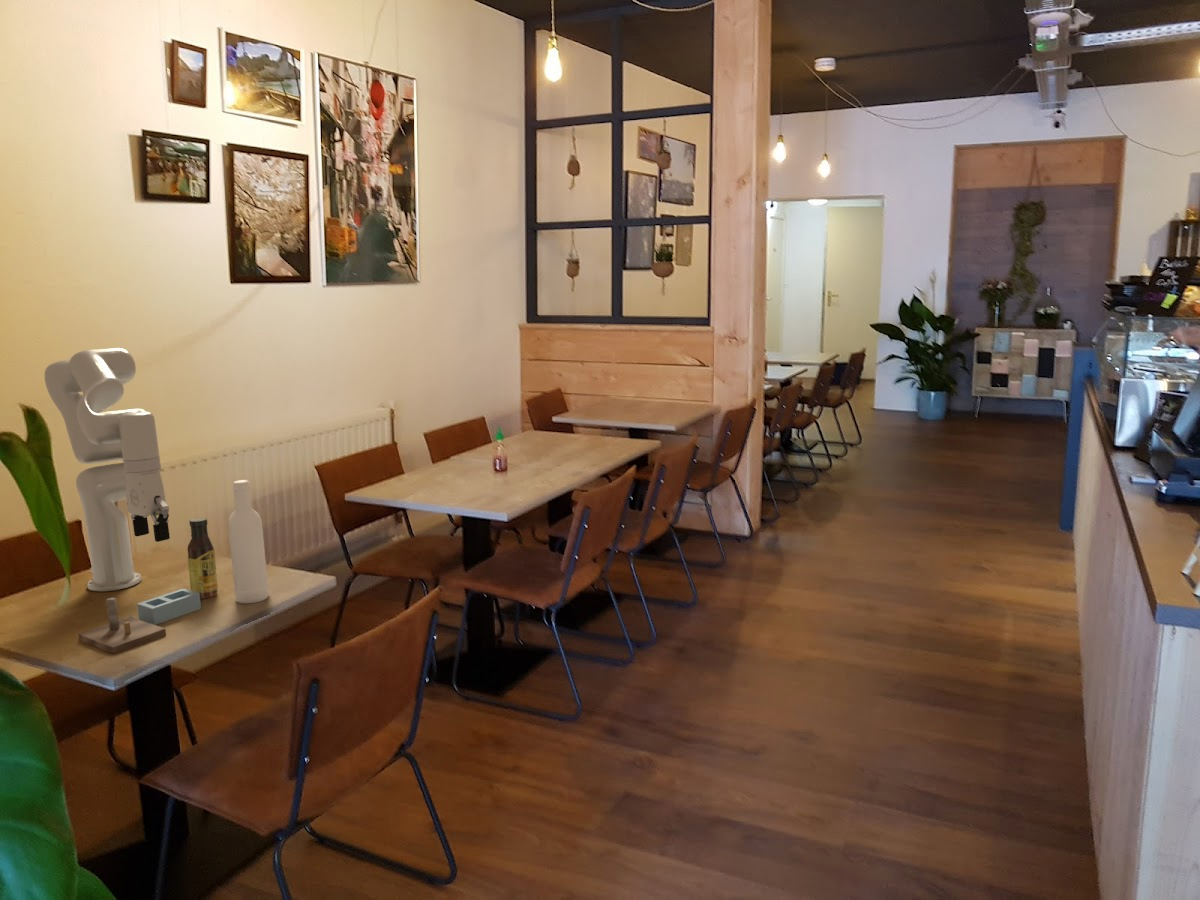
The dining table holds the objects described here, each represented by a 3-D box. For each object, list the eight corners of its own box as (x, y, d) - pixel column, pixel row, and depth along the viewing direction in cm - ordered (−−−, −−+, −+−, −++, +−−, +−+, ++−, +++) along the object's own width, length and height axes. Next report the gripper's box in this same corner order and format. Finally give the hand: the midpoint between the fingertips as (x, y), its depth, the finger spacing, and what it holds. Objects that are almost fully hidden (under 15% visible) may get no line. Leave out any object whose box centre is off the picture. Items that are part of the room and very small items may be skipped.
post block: (79, 640, 204) (74, 604, 203) (131, 622, 214) (126, 588, 212) (113, 653, 197) (108, 616, 195) (166, 634, 207) (161, 599, 205)
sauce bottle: (208, 600, 227) (200, 524, 223) (186, 599, 228) (177, 522, 225) (224, 591, 234) (216, 516, 230) (202, 590, 235) (194, 515, 231)
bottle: (243, 592, 233) (232, 477, 227) (274, 592, 232) (263, 477, 226) (230, 604, 225) (217, 485, 219) (261, 603, 225) (250, 485, 219)
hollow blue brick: (185, 603, 226) (183, 588, 225) (201, 608, 222) (199, 592, 221) (138, 619, 216) (136, 603, 215) (154, 625, 212) (152, 608, 212)
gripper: (108, 465, 213) (118, 536, 216) (144, 471, 202) (154, 546, 205) (140, 460, 219) (150, 529, 222) (177, 465, 208) (186, 538, 211)
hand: (152, 537), depth 214 cm, fingers open, 9 cm apart
